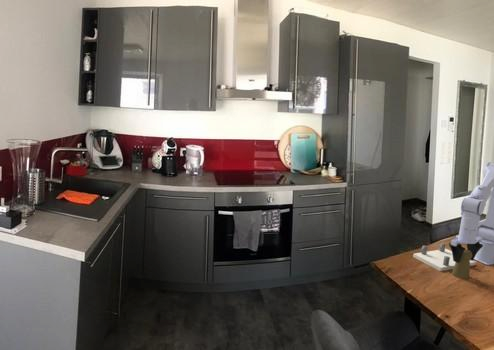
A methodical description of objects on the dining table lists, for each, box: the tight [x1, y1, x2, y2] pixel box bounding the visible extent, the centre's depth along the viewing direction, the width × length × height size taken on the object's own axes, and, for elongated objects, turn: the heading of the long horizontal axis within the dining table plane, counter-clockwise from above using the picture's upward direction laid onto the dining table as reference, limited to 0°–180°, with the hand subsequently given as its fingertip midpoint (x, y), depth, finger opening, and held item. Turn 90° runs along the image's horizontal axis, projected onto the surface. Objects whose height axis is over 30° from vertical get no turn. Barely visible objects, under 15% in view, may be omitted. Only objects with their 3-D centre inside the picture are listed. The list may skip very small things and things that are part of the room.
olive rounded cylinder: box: [451, 248, 472, 280], centre depth 131 cm, size 6×6×11 cm
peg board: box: [412, 242, 476, 272], centre depth 144 cm, size 20×14×5 cm
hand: (463, 260), depth 131 cm, fingers open, 7 cm apart
